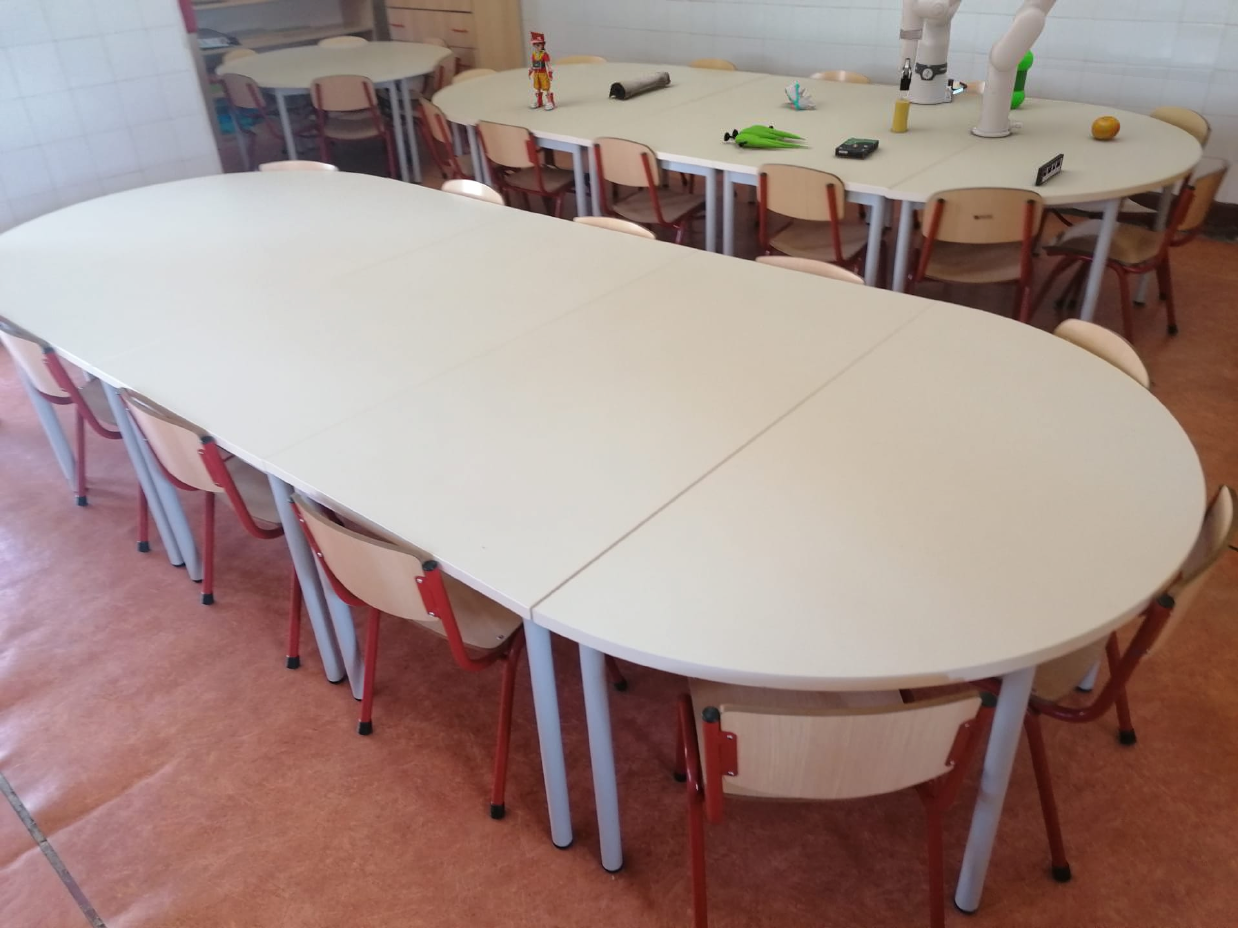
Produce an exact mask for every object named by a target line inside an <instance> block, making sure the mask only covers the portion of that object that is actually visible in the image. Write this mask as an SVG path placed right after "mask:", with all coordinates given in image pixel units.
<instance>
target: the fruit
mask: <svg viewBox="0 0 1238 928" xmlns="http://www.w3.org/2000/svg"><path fill="white" fill-rule="evenodd" d="M1120 130H1121V123H1120V121H1119V119H1117V118H1116V117H1114V116H1111V115H1105V116H1100V117H1098V118H1096V119H1095V121H1093V123H1092V124H1091V127H1090V131H1091V132H1090V133H1091V135H1092V136H1093V137H1094V138H1095V139H1097V140H1104V141H1105V140H1106V141H1107V140H1111V139H1113V138H1115V137H1116V136H1117V135H1118V134H1119V132H1120Z"/></svg>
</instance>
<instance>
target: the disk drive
mask: <svg viewBox="0 0 1238 928" xmlns="http://www.w3.org/2000/svg"><path fill="white" fill-rule="evenodd" d="M879 145H880V140H879V139H870V138H869V139H868V138H855V137H850V138H848V139H846V140H845V141H844V142H843V143H841V144H840V145H838V146H837V147H835V151H834V156H836V157H842V158H849V159H865V158H867V157H868V156H870V155H871V154H872V153H873V152H875V151H876V150H877V149H878V148H879Z"/></svg>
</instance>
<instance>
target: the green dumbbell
mask: <svg viewBox="0 0 1238 928" xmlns="http://www.w3.org/2000/svg"><path fill="white" fill-rule="evenodd" d="M1033 63H1034V53H1033V52H1032V51H1031V49H1030V50H1029V51H1028V53H1027V54H1026V55H1025V57H1024V58H1023V59H1022V61H1021V62H1020V63H1019V64H1018V69H1017V75H1016V80H1015V86H1014V90H1013V96H1012V101H1011V106H1010V110H1011V109H1017V108H1018V107H1019V106H1020V105H1022V104H1023V103H1024V101H1025V99H1026V91H1025V85H1026V81H1027V76H1028V71H1029V69H1031V68H1032V66H1033Z"/></svg>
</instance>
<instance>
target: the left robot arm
mask: <svg viewBox="0 0 1238 928" xmlns="http://www.w3.org/2000/svg"><path fill="white" fill-rule="evenodd" d="M962 1H963V0H960V1H959V2H957V3H956V4H954V5H953V6H952V7H950V8H949V11H948V13H947V14H946V15H945V16H944V17H943V18H940V19H928V18H924V26H923V35H922V39H921V40H919V43H918V45H919V46H918V51H917V52H918V53H917V59H916V61H915V64H914V74H912V77H911V84H910V88H909V91H907V94H905V95H903V96H902V100H909V101H910V103H913V104H921V105H935V104H941V103H952V91H953V95H955V94H958V93H960V92H963V90H965V89H967V88H968V84H966V83H964V82H962V81H959V84H960V85H961V86H963V87H959V88H954V82H955V79H953V78H948V76H947V75H948V74H947V71H948V62H947V61H948V57H949V55H948V54H949V49H950V41H951V40H950V39H951V29H952V20H953V18H954V17H955V15H956V13H957V11H958V9H959V7H960V5H961V3H962ZM949 87H950V88H949Z"/></svg>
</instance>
